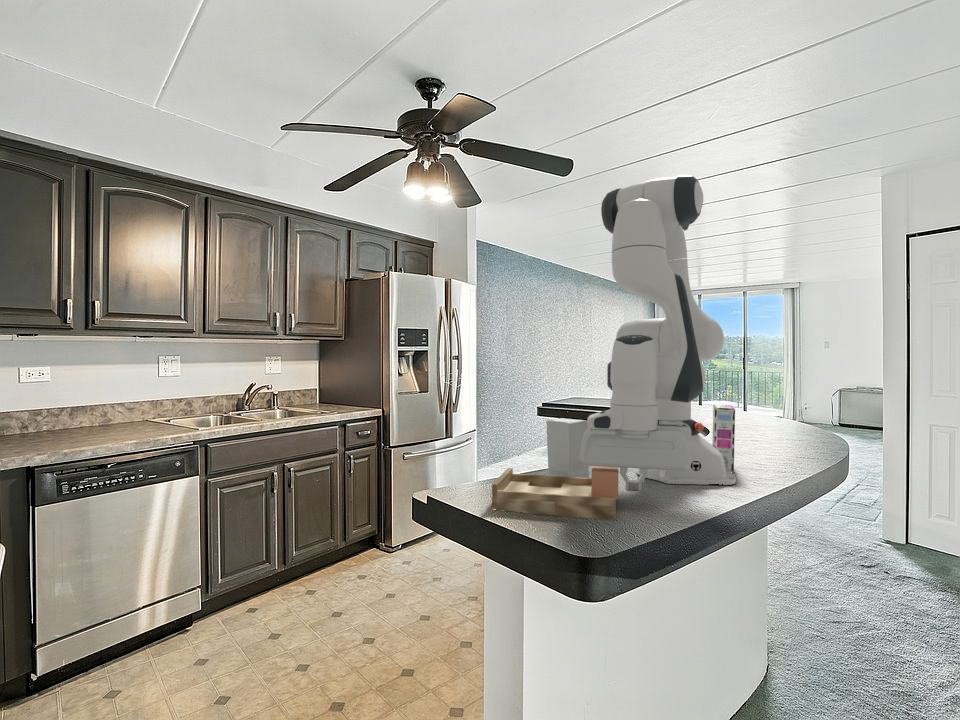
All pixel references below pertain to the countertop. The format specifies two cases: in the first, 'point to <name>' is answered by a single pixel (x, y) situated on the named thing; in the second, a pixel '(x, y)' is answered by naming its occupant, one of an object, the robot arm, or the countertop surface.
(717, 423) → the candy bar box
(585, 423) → the skincare box
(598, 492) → the block
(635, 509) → the countertop surface
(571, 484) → the wooden tray
